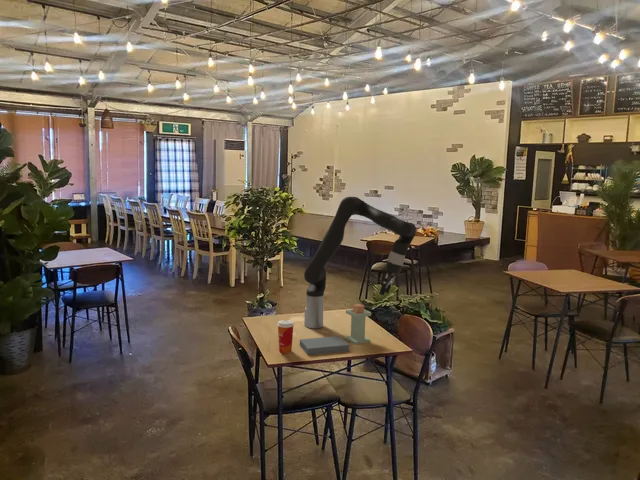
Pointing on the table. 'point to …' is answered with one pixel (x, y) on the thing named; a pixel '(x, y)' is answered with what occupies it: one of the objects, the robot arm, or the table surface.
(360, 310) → the cube
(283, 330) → the paper cup
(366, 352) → the table surface
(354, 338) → the green pedestal
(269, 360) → the table surface
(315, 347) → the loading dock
